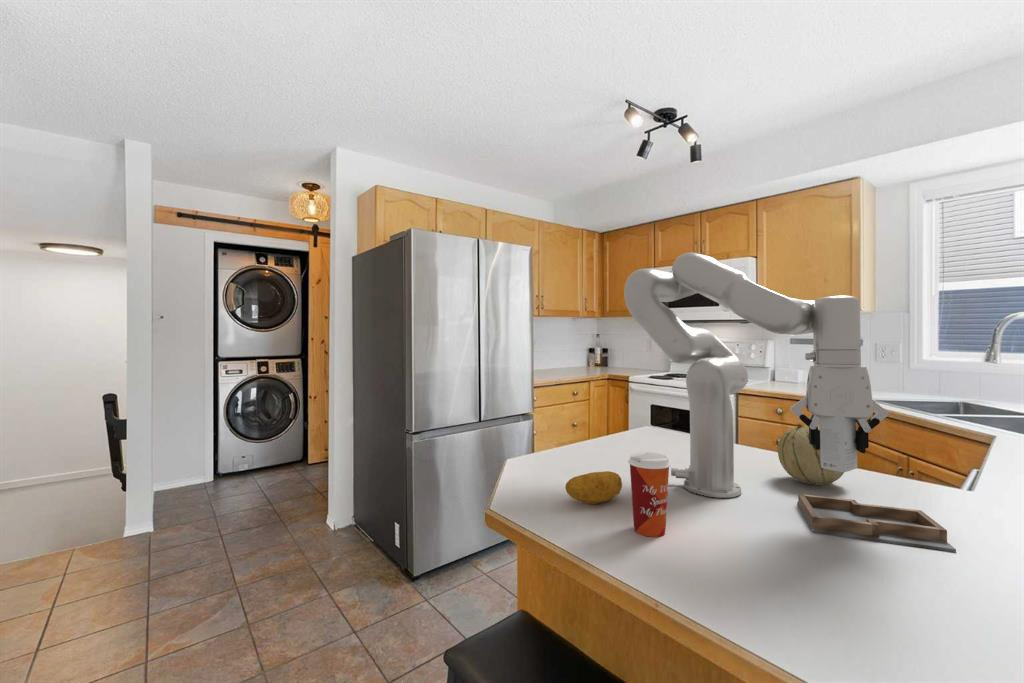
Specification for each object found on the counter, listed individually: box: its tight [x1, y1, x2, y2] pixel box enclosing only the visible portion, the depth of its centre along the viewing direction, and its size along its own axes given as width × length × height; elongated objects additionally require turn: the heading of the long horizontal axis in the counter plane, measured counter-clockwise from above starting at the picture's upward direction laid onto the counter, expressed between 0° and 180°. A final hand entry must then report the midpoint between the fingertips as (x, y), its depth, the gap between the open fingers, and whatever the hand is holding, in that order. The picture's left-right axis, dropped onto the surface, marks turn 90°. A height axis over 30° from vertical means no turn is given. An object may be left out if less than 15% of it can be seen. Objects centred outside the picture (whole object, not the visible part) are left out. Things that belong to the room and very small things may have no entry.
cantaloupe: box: [777, 422, 845, 486], centre depth 111 cm, size 15×15×15 cm
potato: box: [564, 471, 623, 505], centre depth 98 cm, size 8×14×7 cm, turn 110°
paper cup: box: [627, 451, 672, 538], centre depth 83 cm, size 8×8×14 cm
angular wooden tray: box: [797, 493, 957, 553], centre depth 85 cm, size 20×16×2 cm
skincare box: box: [818, 409, 858, 473], centre depth 87 cm, size 6×4×12 cm
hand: (838, 449), depth 87 cm, fingers closed on skincare box, 6 cm apart
